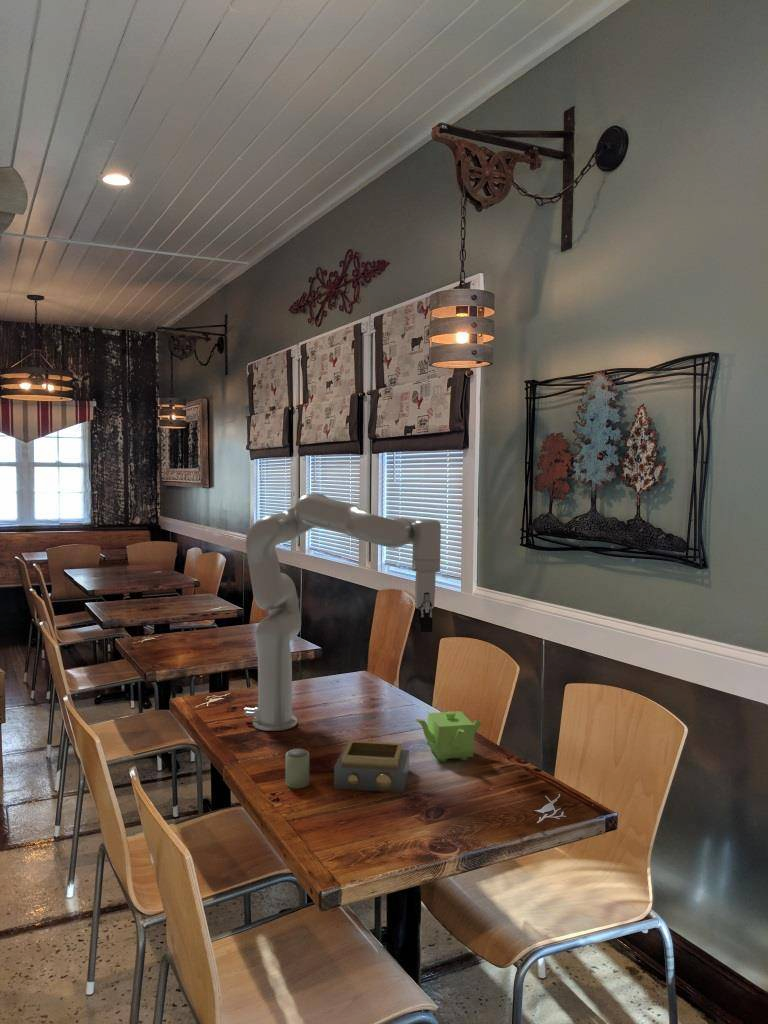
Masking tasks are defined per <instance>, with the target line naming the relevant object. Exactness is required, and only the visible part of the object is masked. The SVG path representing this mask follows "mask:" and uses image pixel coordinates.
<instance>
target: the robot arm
mask: <svg viewBox="0 0 768 1024" xmlns="http://www.w3.org/2000/svg"><path fill="white" fill-rule="evenodd" d="M315 527H317V528H319V529H323V530H327V531H332V532H335V533H340V534H343V535H346V536H349V537H350V538H356V539H358V540H359V541H364V542H367V543H371V544H375V545H378V546H383V547H386V548H392V549H397V548H401V547H403V546H405V545H412V562H411V563H412V566H411V567H412V571H413V572H415V585H414V604H415V608H416V609H418V625H419V631H420V633H431V632H433V613H432V612H433V610H432V609H434V607H435V598H436V580H437V579H436V573H438V572H440V571H441V545H442V544H441V539H442V537H441V534H442V533H441V531H442V526H441V523H440V521H439V520H437V519H425V518H424V519H412V518H407V517H397V518H394V519H392V518H387V517H384V516H380V515H377V514H372V513H369V512H367V511H364V510H363V509H361V508H360V507H359V506H357V504H356V505H355V504H353V503H350V502H345V501H340V500H336V499H334V498H329V497H327V495H325V494H322V493H319V492H314V493H307V494H304V495H301V497H299V498H298V499H297V501H296V503H295V505H293V506H291V507H289V508H288V509H286V510H284V511H282V512H279V513H272V514H268V515H266V516H263V517H261V518H260V519H258V520H257V521H256V522H254V523H253V524H252V525H251V527H250V528H249V529H248V532H247V535H246V537H245V550H246V551H245V552H246V558H247V562H248V569H249V576H250V581H251V589H252V595H253V599H254V602H255V604H256V605H257V607H258V608H260V609H261V610H263V611H268V615H267V616H265V617H263V618H262V619H261V620H260V622H259V623H258V624H257V627H256V629H255V644H256V650H257V701H258V702H257V706H256V707H255V708H254V707H245V708H243V714H244V715H245V717H249V718H250V717H251V718H252V717H253V719H252V727H254V728H255V729H258V730H261V731H266V732H278V731H285V730H288V729H289V730H290V729H292V728H294V727H295V726H297V724H298V718H297V717H296V716H295V715H293V713H292V712H293V710H292V709H293V706H292V705H293V700H292V699H293V666H292V665H293V664H292V663H293V662H292V661H293V659H292V652H291V645H290V642H291V641H292V640H293V639H294V638H296V637H297V636H298V635H299V633H300V631H301V627H302V618H301V613H300V612H301V610H300V606H299V600H298V593H297V589H296V585H295V583H294V581H293V579H292V578H291V577H290V576H289V575H288V574H286V573H283V572H281V568H280V561H279V560H280V559H279V557H278V554H277V552H276V546H278V545H279V544H282V543H283V544H284V543H285V542H290V541H292V540H294V539H297V538H298V537H300V536H301V535H303V534H305V533H306V532H309V531H310V530H312V529H313V528H315Z"/></svg>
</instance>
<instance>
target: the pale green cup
mask: <svg viewBox="0 0 768 1024" xmlns="http://www.w3.org/2000/svg"><path fill="white" fill-rule="evenodd" d="M284 759H285V765H284V766H285V767H284V768H285V779H284V781H285V786H286V787H288V788H291V789H301V788H305V787H307V786H309V784H310V752H309V751H308V750H306V749H305V748H292V749H289V750H288V751H286V753H285V758H284Z"/></svg>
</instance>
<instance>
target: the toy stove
mask: <svg viewBox="0 0 768 1024" xmlns="http://www.w3.org/2000/svg"><path fill="white" fill-rule="evenodd" d="M403 746H404V745H403V743H397V742H395V743H393V742H379V741H364V740H363V741H362V740H361V741H360V740H349V741H348V743H347V745H344V746H343V748H342V750H341V751H340V754H339V756H338V758H337V759H336V760H337V761H336V763H335V764H334V766H333V787H334V788H333V789H339V790H356V791H368V792H370V791H371V792H385V793H388V792H389V793H398V794H403V793H404V792H405V788H406V785H407V779H408V775H409V772H410V750H409V749H403Z"/></svg>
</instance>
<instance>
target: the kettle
mask: <svg viewBox="0 0 768 1024" xmlns="http://www.w3.org/2000/svg"><path fill="white" fill-rule="evenodd" d="M414 721H415V722H417V723H419V724H420V726H421V727H422V730H423V734H424V737H425V738H426V739H425V740H427V745H428V747H429V748H430V749H431V751H432V754H434V755H435V756H436V758H437V760H438V762H441V763H445V762H448V759H458V760H460V761H467V760H468V759H469V758H473V757H474V752H475V750H474V746H475V745H474V742H475V741H474V740H475V739H474V738H475V734H476V732H478V730H479V728H480V726H481V725H482V723H483V722H482V721H481V720H479V719H475V720H473V722H472V721H471V720H470V719H469V718H468V717H467V716H466V714H464V713H463V712H462V711H461V710H460V711H457V710H456V711H452V710H451V711H442V712H428V713H427V722H426V721H425V720H424V719H423V718H422V719H421V718H419V719H417V718H416V719H414Z"/></svg>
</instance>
